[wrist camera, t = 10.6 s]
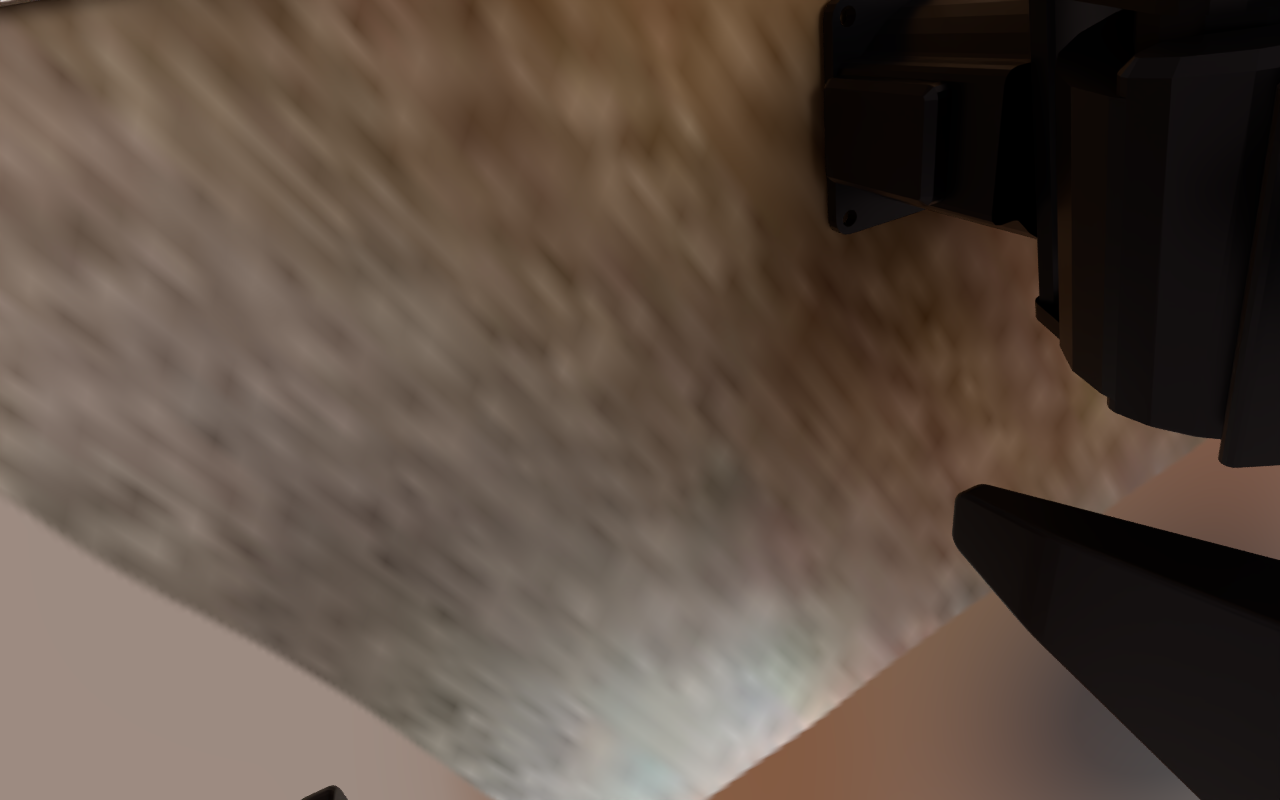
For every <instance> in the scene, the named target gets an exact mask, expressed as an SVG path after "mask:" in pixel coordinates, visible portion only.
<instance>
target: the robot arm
mask: <svg viewBox="0 0 1280 800" xmlns="http://www.w3.org/2000/svg"><path fill="white" fill-rule="evenodd" d="M843 8H844V9H845V10H846V14H847V16H846V21H845V23H844V24H843V25H842V24H841V21H840V15H841V12H842V10H843ZM823 33H824V71H825V88H824V123H825V160H826V175H827V186H828V221H829V225H830V227H831V228H832V230H834V231H837V232H839V233H842V234H852V233H855V232H858V231H861V230H864V229H867V228H870V227H873V226H876V225H879V224H882V223H885V222H888V221H891V220H895V219H898V218H901V217H904V216H907V215H910V214H913V213H916V212H919V211H922V210H925V209H928V210H931V211H935V212H939V213H942V214H946V215H950V216H953V217H957V218H961V219H964V220H968V221H972V222H975V223H979V224H983V225H986V226H990V227H994V228H997V229H1001V230H1005V231H1008V232H1012V233H1016V234H1019V235H1023V236H1027V237H1030V238H1034V239H1037V245H1038V272H1039V296H1038V297H1037V298H1036V300H1035V308H1036V318H1037V320H1038V321H1040V322H1041V323H1042V324H1043V325H1044V326H1045V327H1046V328H1047V329H1049V330H1050V331H1051V332H1052V333H1053V334H1054V335H1055V336H1056V337H1057V338H1059V339H1060V347H1061V349H1062V351H1063V353H1064V355H1065V357H1066V359H1067V361H1068V363H1069V365H1070V367H1071V369H1072V371H1073V372H1075V373H1076V374H1077V375H1078V376H1080V377H1081V378H1082V379H1084V380H1085V381H1086V382H1087V383H1089V384H1090V385H1091V386H1092V387H1094V388H1095V389H1096V390H1097V391H1099V392H1100V393H1101V394H1103V395H1105V396H1107V405H1108V407H1109V409H1111V410H1112V411H1113V412H1115V413H1117V414H1120V415H1122V416H1125V417H1127V418H1130V419H1133V420H1135V421H1138V422H1140V423H1143V424H1145V425H1148V426H1151V427H1155V428H1159V429H1163V430H1168V431H1172V432H1176V433H1181V434H1185V435H1189V436H1194V437H1203V438H1213V439H1221V444H1220V450H1219V457H1218V460H1219V461H1220V462H1221V464H1223V465H1225V466H1228V467H1232V468H1241V467H1256V466H1273V465H1280V0H831V1H830V2H829V3H828V4H827V7H826V9H825V11H824V18H823ZM847 211H848V212H849V215H848V218H847V220H846V221H845V222H844V223H843V218H844V215H845V213H846V212H847ZM952 536H953V540H954V543H955V545H956V547H957V548H958V550H959V551H960V552H961V554H962V555H963V556H964V557H965V558H966V559H967V561H968V562H969V563H970V564H971V565H972V566H973V568H974V569H975V570H976V571H977V572H978V574H979V575H980V576H981V577H982V578H983V579H984V581H985V582H986V583H987V584H988V585H989V586H990V588H991V589H992V590H993V591H994V592H995V593H996V595H997V596H998V597H999V598H1000V599H1001V601H1002V602H1003V603H1004V604H1005V605H1006V606H1007V608H1008V609H1009V610H1010V611H1011V612H1012V613H1013V615H1014V616H1015V617H1016V618H1017V619H1018V620H1019V621H1020V623H1021V624H1022V625H1023V626H1024V627H1025V628H1026V629H1027V630H1028V631H1029V632H1030V633H1031V634H1032V636H1033V637H1034V638H1036V640H1037V641H1038V642H1039V643H1040V644H1041V645H1042V646H1043V647H1044V648H1045V649H1046V650H1047V651H1048V652H1049V653H1051V654H1052V655H1053V656H1054V657H1055V658H1056V659H1057V660H1058V661H1059V662H1060V663H1061V664H1062V665H1063V666H1064V667H1065V668H1066V669H1067V670H1068V671H1069V672H1070V673H1071V674H1072V675H1073V676H1074V677H1075V678H1076V679H1077V680H1078V681H1079V682H1080V683H1081V684H1082V685H1083V686H1084V687H1085V688H1086V689H1087V690H1088V691H1090V693H1092V694H1093V695H1094V696H1095V697H1096V698H1097V699H1098V700H1099V701H1100V702H1101V703H1102V704H1103V705H1104V706H1105V707H1106V708H1107V709H1108V710H1109V711H1110V712H1111V713H1112V714H1113V715H1114V716H1115V717H1116V718H1117V719H1118V720H1119V721H1120V722H1121V723H1122V724H1123V725H1124V726H1125V727H1126V728H1127V729H1128V730H1130V731H1131V733H1133V734H1134V735H1135V736H1136V737H1137V738H1138V739H1139V740H1140V741H1141V742H1142V743H1143V744H1144V745H1145V746H1146V747H1147V748H1148V749H1149V750H1150V751H1151V752H1152V753H1153V754H1154V755H1155V756H1156V757H1157V758H1158V759H1159V760H1160V761H1161V762H1162V763H1163V764H1164V765H1165V766H1166V767H1167V768H1168V769H1169V770H1170V771H1171V772H1172V773H1174V774H1175V775H1176V776H1177V777H1178V778H1179V779H1180V780H1181V781H1182V782H1183V783H1184V784H1185V785H1186V786H1187V787H1188V788H1189V789H1190V790H1191V791H1192V792H1193V793H1194V794H1195V795H1196V796H1197V797H1198V798H1199V799H1200V800H1280V560H1277V559H1273V558H1269V557H1265V556H1262V555H1258V554H1254V553H1250V552H1246V551H1242V550H1238V549H1234V548H1231V547H1227V546H1223V545H1219V544H1215V543H1211V542H1207V541H1203V540H1200V539H1196V538H1192V537H1188V536H1184V535H1180V534H1177V533H1173V532H1168V531H1165V530H1161V529H1157V528H1153V527H1149V526H1146V525H1141V524H1138V523H1134V522H1130V521H1126V520H1122V519H1119V518H1115V517H1111V516H1107V515H1103V514H1099V513H1095V512H1091V511H1088V510H1084V509H1080V508H1076V507H1072V506H1068V505H1064V504H1061V503H1057V502H1053V501H1049V500H1045V499H1041V498H1037V497H1033V496H1030V495H1026V494H1022V493H1018V492H1014V491H1010V490H1006V489H1003V488H999V487H995V486H991V485H986V484H979V485H976V486H973V487H971V488H969V489H967V490H965V491H963V492H961V493H959V494H958V495H957V497H956V499H955V506H954V517H953V529H952ZM302 800H348V799H347V798H346V796H345V795H344V793H343V792H342V790H341V789H340V788H338V787H337V786H334V785H332V786H328V787H326V788H324V789H322V790H320V791H318V792H316V793H313V794H311V795H309V796H307V797H305V798H303V799H302Z"/></svg>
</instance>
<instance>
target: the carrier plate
mask: <svg viewBox="0 0 1280 800" xmlns="http://www.w3.org/2000/svg"><path fill="white" fill-rule="evenodd" d="M33 1H39V0H0V7H2V6H8V5H14V4H20V3H27V2H33Z"/></svg>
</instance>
